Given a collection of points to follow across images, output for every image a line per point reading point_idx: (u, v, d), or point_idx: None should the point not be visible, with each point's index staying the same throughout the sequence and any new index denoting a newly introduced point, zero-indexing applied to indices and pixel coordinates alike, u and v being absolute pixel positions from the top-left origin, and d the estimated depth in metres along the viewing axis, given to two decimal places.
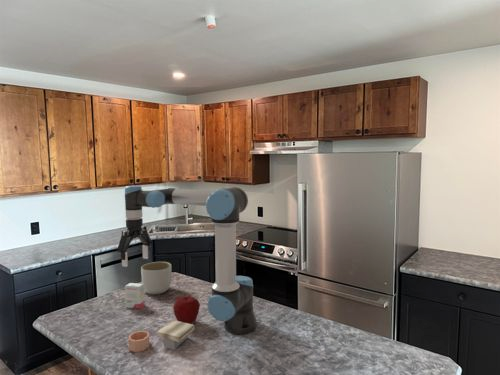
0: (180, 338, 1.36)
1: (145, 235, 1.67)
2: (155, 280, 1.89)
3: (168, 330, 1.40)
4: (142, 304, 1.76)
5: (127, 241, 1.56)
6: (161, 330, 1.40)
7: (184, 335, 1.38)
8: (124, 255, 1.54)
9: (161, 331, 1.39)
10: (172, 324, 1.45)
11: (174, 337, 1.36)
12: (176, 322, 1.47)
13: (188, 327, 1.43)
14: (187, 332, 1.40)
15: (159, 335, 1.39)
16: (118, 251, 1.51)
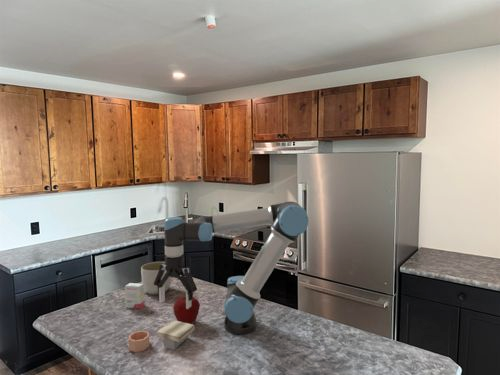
0: (180, 338, 1.36)
1: None
2: None
3: (168, 330, 1.40)
4: (142, 304, 1.76)
5: None
6: (161, 330, 1.40)
7: (184, 335, 1.38)
8: (159, 289, 1.43)
9: (161, 331, 1.39)
10: (172, 324, 1.45)
11: (174, 337, 1.36)
12: (176, 322, 1.47)
13: (188, 327, 1.43)
14: (187, 332, 1.40)
15: (159, 335, 1.39)
16: None
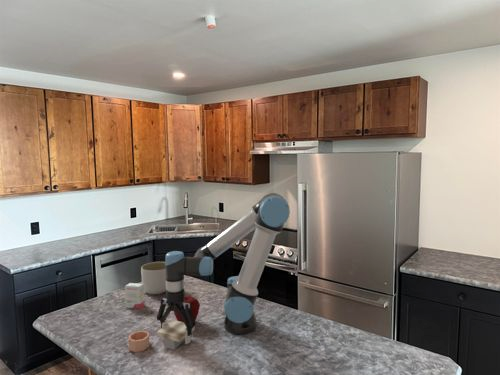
0: (180, 338, 1.36)
1: None
2: (155, 280, 1.89)
3: (168, 330, 1.40)
4: (142, 304, 1.76)
5: None
6: (161, 330, 1.40)
7: (184, 335, 1.38)
8: (162, 324, 1.44)
9: (161, 331, 1.39)
10: (172, 324, 1.45)
11: (174, 337, 1.36)
12: (176, 322, 1.47)
13: None
14: None
15: (159, 335, 1.39)
16: None
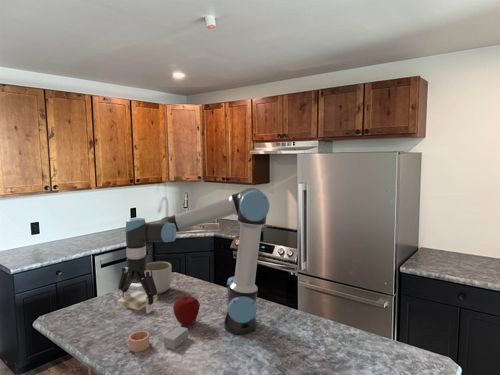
0: (140, 306, 1.31)
1: None
2: (155, 280, 1.89)
3: (129, 299, 1.36)
4: None
5: None
6: (121, 299, 1.36)
7: (145, 304, 1.34)
8: (123, 294, 1.40)
9: (122, 300, 1.35)
10: (134, 294, 1.41)
11: (134, 305, 1.31)
12: (139, 292, 1.43)
13: None
14: None
15: (119, 304, 1.34)
16: None
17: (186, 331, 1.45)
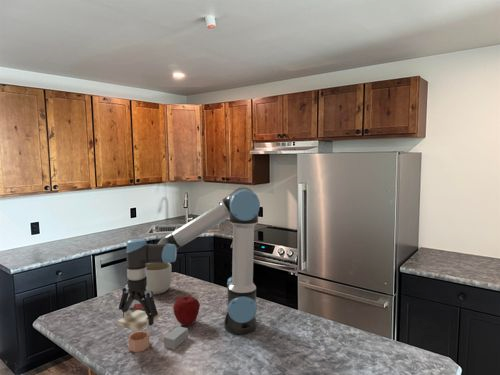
0: (140, 327, 1.32)
1: None
2: (155, 280, 1.89)
3: (129, 319, 1.36)
4: None
5: None
6: (122, 319, 1.36)
7: (145, 324, 1.34)
8: (124, 314, 1.40)
9: (122, 321, 1.35)
10: (135, 314, 1.41)
11: (134, 326, 1.32)
12: (139, 311, 1.44)
13: None
14: None
15: (120, 324, 1.35)
16: None
17: (186, 331, 1.45)
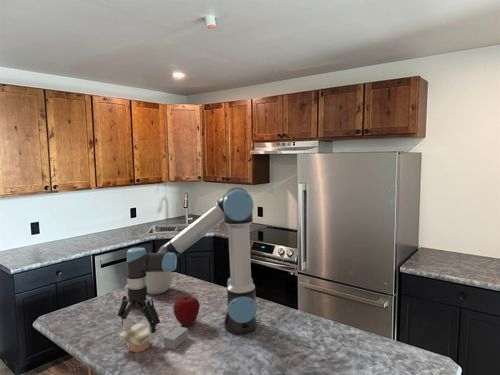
0: (141, 341, 1.32)
1: None
2: (155, 280, 1.89)
3: (130, 333, 1.37)
4: None
5: None
6: (123, 333, 1.37)
7: (146, 338, 1.35)
8: (123, 321, 1.41)
9: (123, 335, 1.36)
10: (136, 327, 1.42)
11: (135, 341, 1.32)
12: (140, 324, 1.44)
13: None
14: None
15: (121, 338, 1.36)
16: None
17: (186, 331, 1.45)
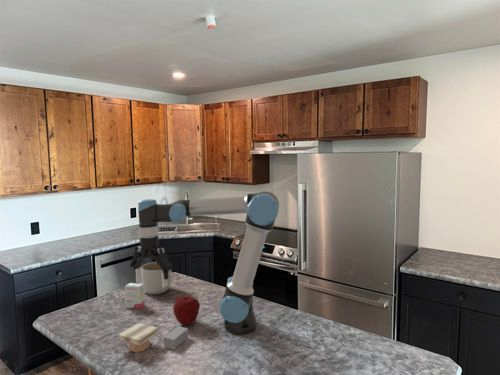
0: (141, 341, 1.32)
1: None
2: (155, 280, 1.89)
3: (130, 333, 1.37)
4: (142, 304, 1.76)
5: None
6: (123, 333, 1.37)
7: (146, 338, 1.35)
8: None
9: (123, 335, 1.36)
10: (136, 327, 1.42)
11: (135, 341, 1.32)
12: (140, 324, 1.44)
13: (151, 330, 1.39)
14: (150, 335, 1.37)
15: (121, 338, 1.36)
16: None
17: (186, 331, 1.45)
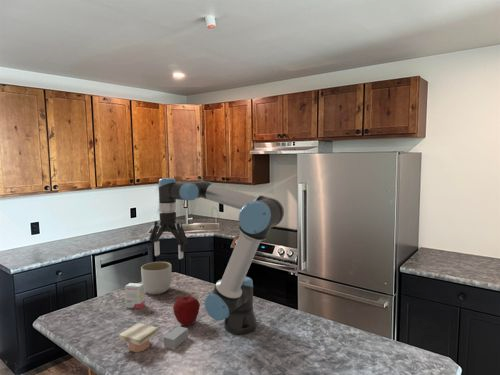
0: (141, 341, 1.32)
1: None
2: (155, 280, 1.89)
3: (130, 333, 1.37)
4: (142, 304, 1.76)
5: None
6: (123, 333, 1.37)
7: (146, 338, 1.35)
8: None
9: (123, 335, 1.36)
10: (136, 327, 1.42)
11: (135, 341, 1.32)
12: (140, 324, 1.44)
13: (151, 330, 1.39)
14: (150, 335, 1.37)
15: (121, 338, 1.36)
16: None
17: (186, 331, 1.45)
